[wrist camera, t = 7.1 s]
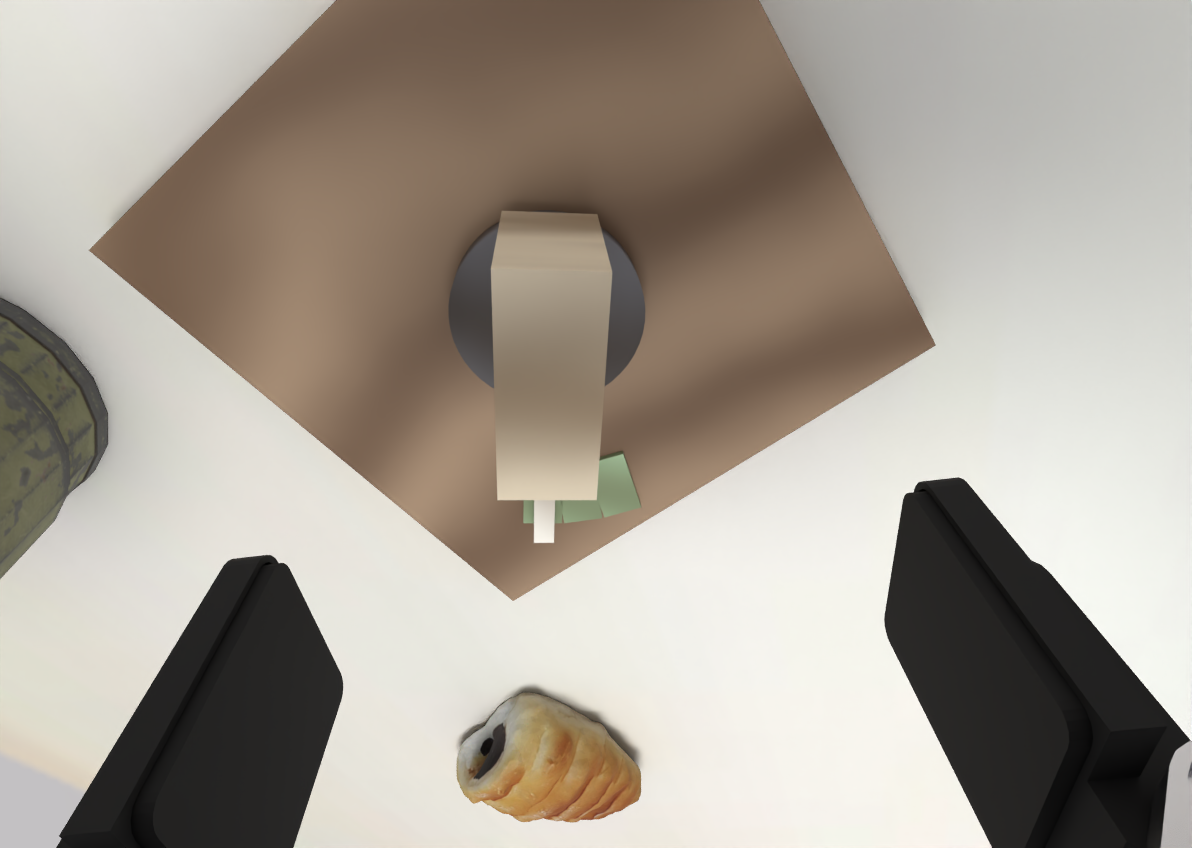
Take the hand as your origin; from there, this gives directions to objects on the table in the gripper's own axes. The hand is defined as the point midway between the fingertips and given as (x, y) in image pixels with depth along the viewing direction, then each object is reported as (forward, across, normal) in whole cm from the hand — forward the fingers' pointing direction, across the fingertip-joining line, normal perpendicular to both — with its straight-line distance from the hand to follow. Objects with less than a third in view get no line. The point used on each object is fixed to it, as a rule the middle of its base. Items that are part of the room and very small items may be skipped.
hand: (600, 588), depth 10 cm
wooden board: (+13, +1, 0) cm, 13 cm away
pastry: (+14, +5, +24) cm, 28 cm away
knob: (+11, +2, +3) cm, 12 cm away
